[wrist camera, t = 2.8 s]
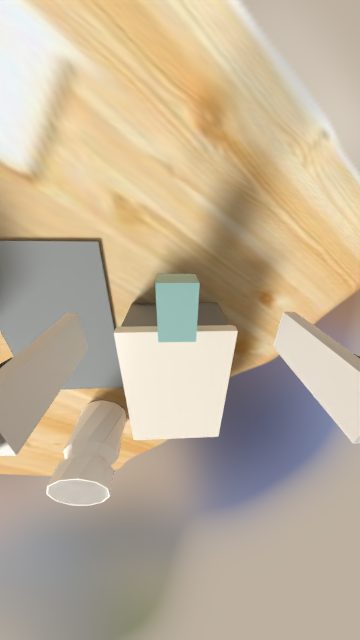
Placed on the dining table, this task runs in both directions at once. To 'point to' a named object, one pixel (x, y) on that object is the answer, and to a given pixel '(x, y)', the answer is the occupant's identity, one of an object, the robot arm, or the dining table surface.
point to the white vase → (89, 456)
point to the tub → (148, 315)
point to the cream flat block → (175, 366)
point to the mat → (59, 303)
